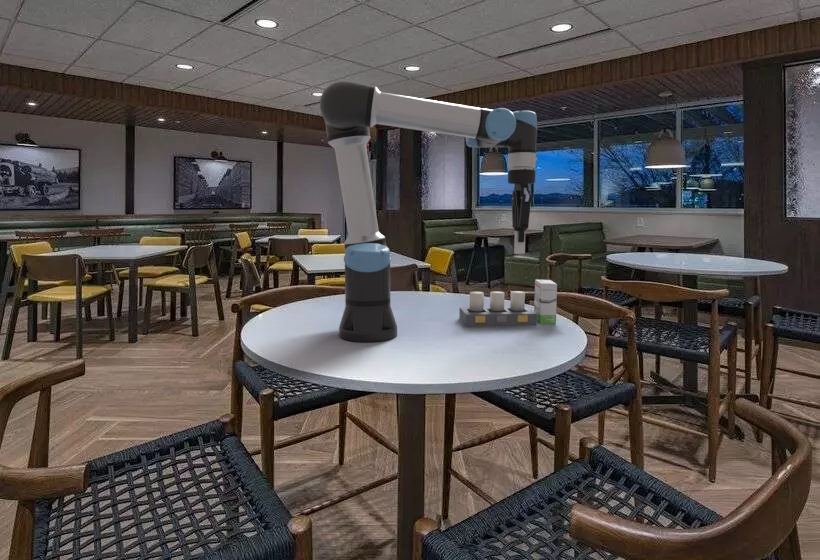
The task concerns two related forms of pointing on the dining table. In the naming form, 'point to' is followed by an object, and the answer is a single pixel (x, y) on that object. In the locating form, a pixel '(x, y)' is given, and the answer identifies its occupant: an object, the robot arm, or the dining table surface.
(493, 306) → the button mid
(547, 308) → the ink box
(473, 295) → the button left
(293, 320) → the dining table surface
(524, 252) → the robot arm
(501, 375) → the dining table surface
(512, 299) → the button right
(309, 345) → the dining table surface
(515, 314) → the console
